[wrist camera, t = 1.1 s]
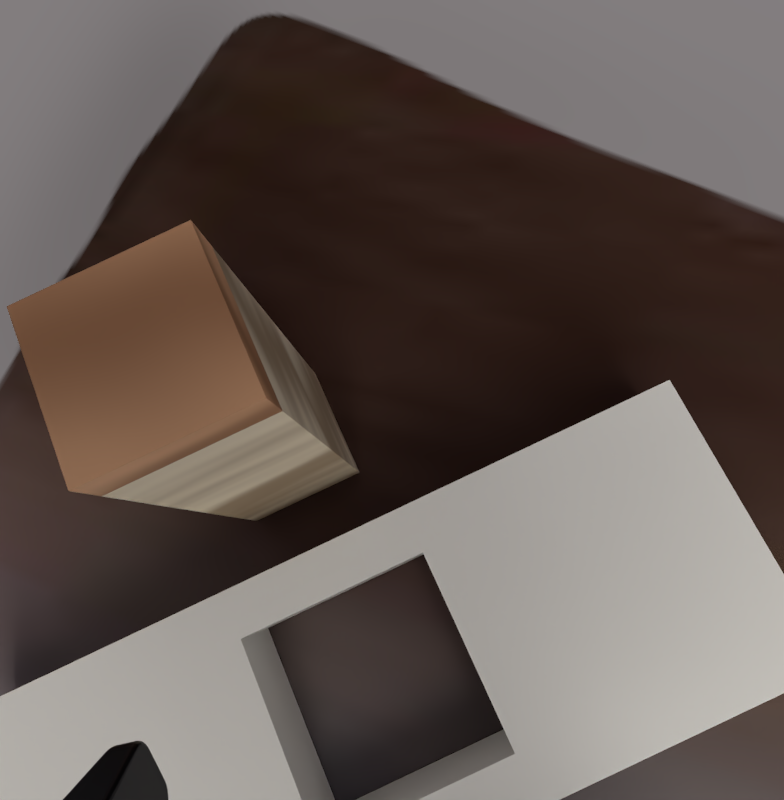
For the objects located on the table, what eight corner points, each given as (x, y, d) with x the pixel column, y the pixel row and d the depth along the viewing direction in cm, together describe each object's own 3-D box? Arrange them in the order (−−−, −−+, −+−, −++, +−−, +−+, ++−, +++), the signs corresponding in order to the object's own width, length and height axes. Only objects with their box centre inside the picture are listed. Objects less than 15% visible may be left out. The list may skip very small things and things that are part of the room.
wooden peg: (359, 472, 24) (266, 397, 13) (256, 520, 24) (68, 491, 13) (315, 374, 25) (190, 220, 14) (216, 420, 25) (6, 306, 14)
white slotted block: (787, 651, 22) (838, 667, 19) (97, 979, 22) (40, 1046, 19) (644, 400, 24) (669, 379, 21) (15, 698, 24) (-47, 718, 21)
